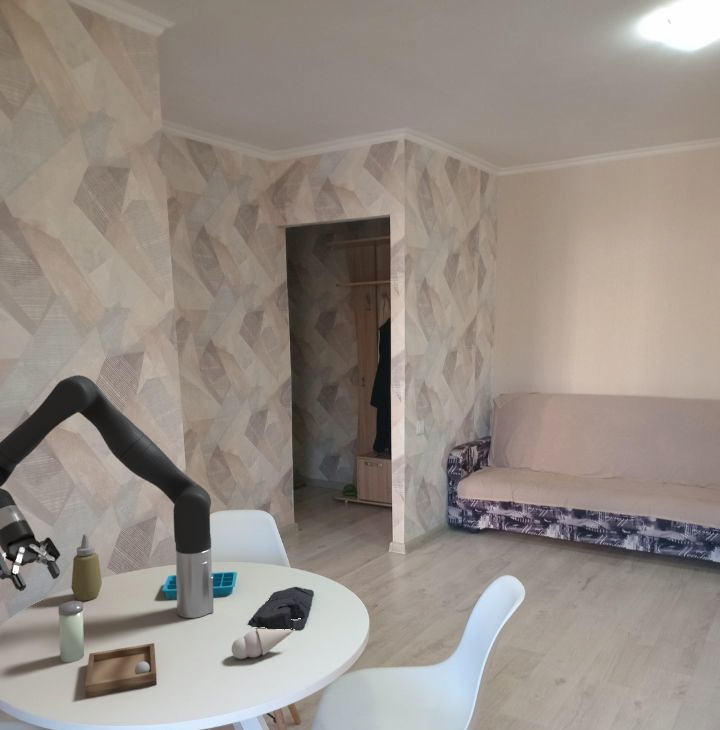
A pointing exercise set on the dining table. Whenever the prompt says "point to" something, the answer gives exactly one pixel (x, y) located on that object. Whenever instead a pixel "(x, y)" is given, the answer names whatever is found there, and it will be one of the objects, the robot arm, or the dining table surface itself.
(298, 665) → the dining table surface
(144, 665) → the ball
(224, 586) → the ice cube tray
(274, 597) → the dark slate chunk
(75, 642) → the shaker
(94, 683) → the tray
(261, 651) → the ice cream cone
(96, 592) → the squeeze bottle
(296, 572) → the dining table surface
